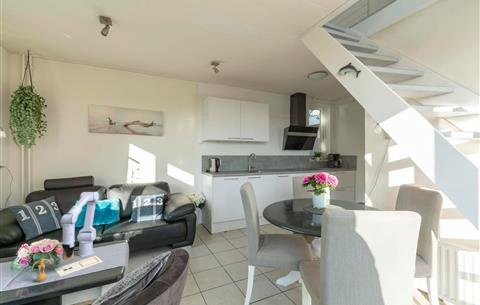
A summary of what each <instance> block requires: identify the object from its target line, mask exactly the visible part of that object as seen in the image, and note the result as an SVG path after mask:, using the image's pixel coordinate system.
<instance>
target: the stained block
mask: <svg viewBox="0 0 480 305" xmlns="http://www.w3.org/2000/svg"><path fill="white" fill-rule="evenodd" d="M74 252H75V250H73V253H72V256H71V257H68V258H67V255H66V250H62V259H63V261H66V260H69V259H73V258H74V256H75V254H74Z"/></svg>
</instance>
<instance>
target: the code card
mask: <svg viewBox="0 0 480 305" xmlns="http://www.w3.org/2000/svg"><path fill="white" fill-rule="evenodd" d="M103 262H104V260H102V259H101V258H99V257H98V256H97V255H93V256H91V257H87V258H84V259H81V260H79V261H75V262H72V263H69V264H65V265H64V266H63V265H62V266H59V267H56V268H54V270H55V271H56V273H57V274H58V275H59V277H63V276H66V275H69V274H72V273H74V272H77V271H80V270H83V269H86V268H89V267H91V266H92V267H93V266H94V265H97V264H100V263H103Z"/></svg>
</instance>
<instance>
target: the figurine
mask: <svg viewBox="0 0 480 305" xmlns="http://www.w3.org/2000/svg"><path fill="white" fill-rule="evenodd" d="M46 261H48V263H49V264H50V265H52V262H51V261H50V260H49V259H47V258H43V257H42V258H40V259H39V260H37V261H35V262H34V263H33V264H32V266H31V271H32V270H33V268H34V266H35V265H36V264H38V263H39V265H38V272H39V274H38V275H37V276H36V280H37V282H43V281H44V280H46V279H47V277H48V276H47V273H45V267H46V264H45V262H46ZM41 268H42V272H41Z"/></svg>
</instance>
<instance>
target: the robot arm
mask: <svg viewBox="0 0 480 305" xmlns="http://www.w3.org/2000/svg"><path fill="white" fill-rule="evenodd" d="M99 199H100V194H99V192H98V191H83V192H81V194H80V195H79V200H78V201H77V203H76V204H75V205H73V206H72V207H71V208H70V210H69V211H68V212H67V213H65V214H64V215H62V216H61V218H60V221H59V222H60V224H61V228H62V241H61V242H59V244H60V245H61V248H62V249H63V250H66V255H67V258H68V257H71V256H72V253H73V250H74V249H75V248H76V246H77V245H76V244H75V242H76V240H75V227H76V226H75V225H76V224H75V223H76V222H77V221H78V218H79V215H80V214H81V212H82V211H83V207H84V206H85V205H86V211H85V217H84V223H83V227H82V228H81V229H80V230H78V234H77V235H76V236H77V238H76V239H77V242H79V246H78V252H77V253H76V254H77V255H78V256H80V258H84V257H88V256H91V255H93V254H95V253H96V252H95V251H94V249H93V248H94V246H93V244H94V243H93V242H94V240H95V239H96V237H97V229H96V228H94V227H93V224H94V217H95V211H96V204H98V203H99ZM63 250H62V251H63ZM74 251H75V250H74Z"/></svg>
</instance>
